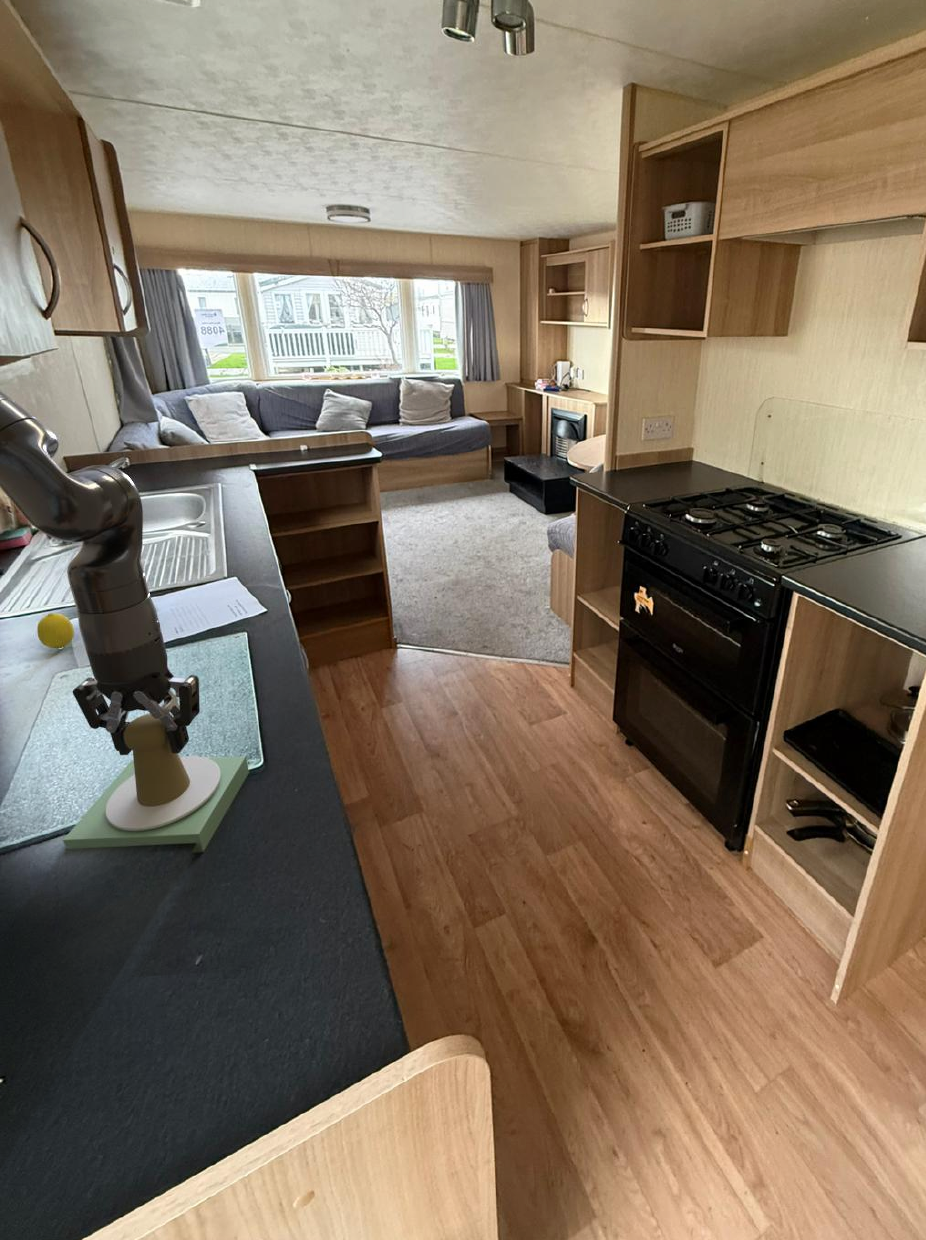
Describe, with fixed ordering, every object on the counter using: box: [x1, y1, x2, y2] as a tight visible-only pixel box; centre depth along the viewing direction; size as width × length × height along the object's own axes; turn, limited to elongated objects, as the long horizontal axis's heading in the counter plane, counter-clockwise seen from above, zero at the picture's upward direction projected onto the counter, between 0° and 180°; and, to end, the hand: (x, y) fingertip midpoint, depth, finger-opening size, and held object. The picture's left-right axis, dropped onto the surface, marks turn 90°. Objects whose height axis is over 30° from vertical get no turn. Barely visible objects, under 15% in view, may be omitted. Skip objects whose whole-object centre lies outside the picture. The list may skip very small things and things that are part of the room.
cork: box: [124, 713, 190, 807], centre depth 77 cm, size 6×6×11 cm
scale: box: [62, 755, 250, 854], centre depth 79 cm, size 16×14×4 cm
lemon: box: [36, 612, 75, 649], centre depth 118 cm, size 6×6×8 cm
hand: (154, 749), depth 76 cm, fingers open, 5 cm apart
